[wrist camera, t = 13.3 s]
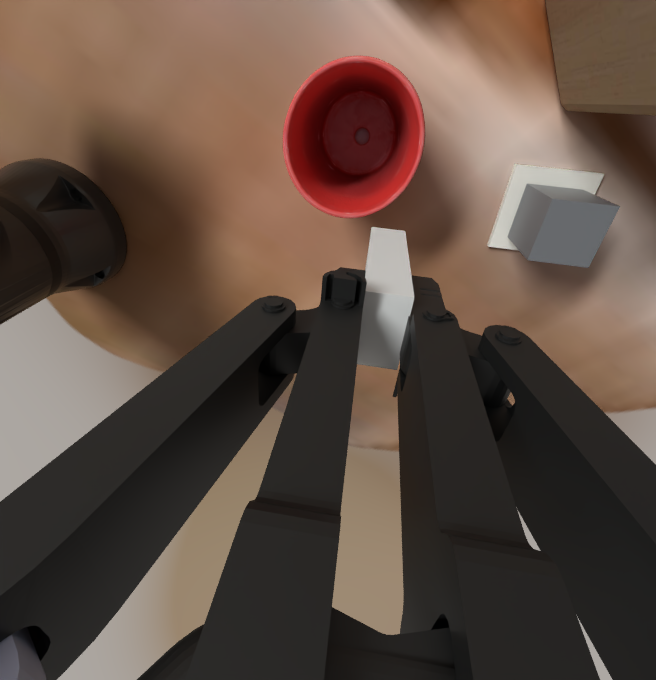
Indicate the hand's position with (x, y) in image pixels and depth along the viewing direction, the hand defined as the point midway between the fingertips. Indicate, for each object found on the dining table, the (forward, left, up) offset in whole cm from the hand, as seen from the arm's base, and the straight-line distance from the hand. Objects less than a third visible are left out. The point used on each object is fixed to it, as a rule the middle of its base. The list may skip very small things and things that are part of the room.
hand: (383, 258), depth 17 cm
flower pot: (-3, +3, -24) cm, 25 cm away
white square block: (+16, -2, -24) cm, 29 cm away
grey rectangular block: (+16, -2, -23) cm, 28 cm away
